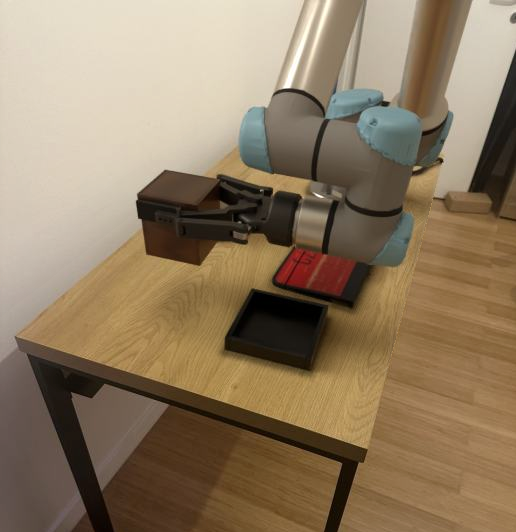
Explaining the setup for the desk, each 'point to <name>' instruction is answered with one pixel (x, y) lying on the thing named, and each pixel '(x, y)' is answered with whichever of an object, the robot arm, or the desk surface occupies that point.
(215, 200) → the lidded wooden cube
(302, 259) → the binder
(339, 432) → the desk surface
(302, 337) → the black square tray
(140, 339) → the desk surface
